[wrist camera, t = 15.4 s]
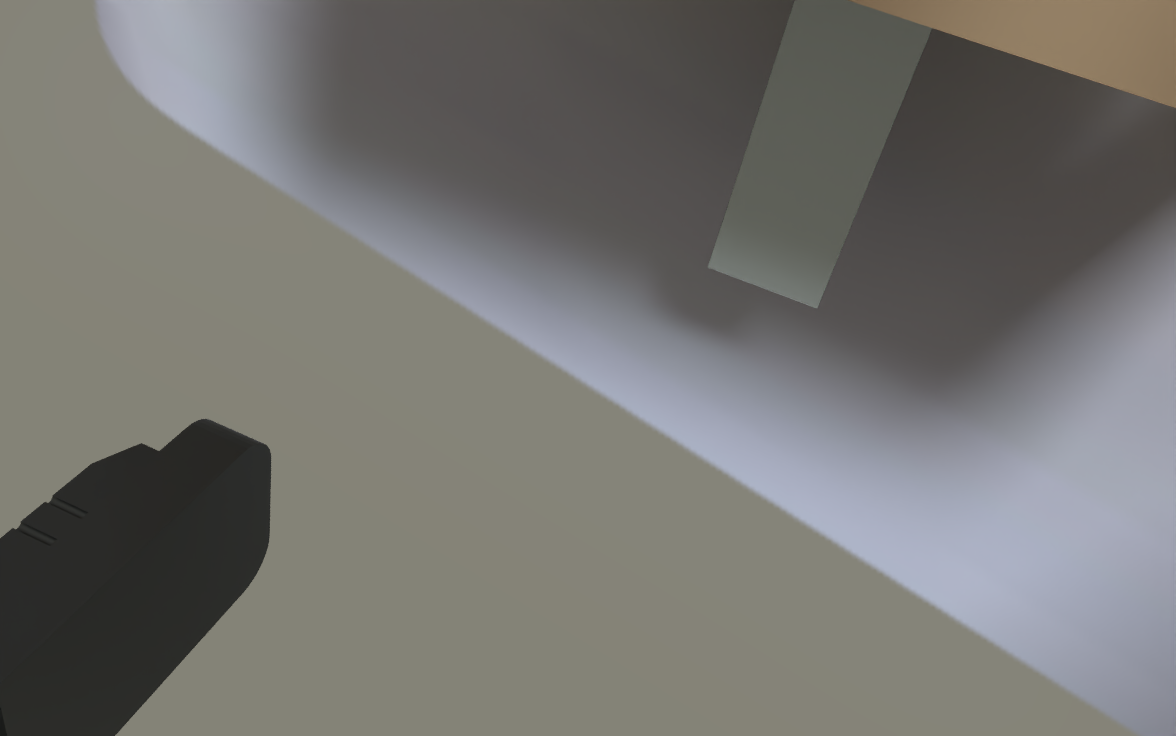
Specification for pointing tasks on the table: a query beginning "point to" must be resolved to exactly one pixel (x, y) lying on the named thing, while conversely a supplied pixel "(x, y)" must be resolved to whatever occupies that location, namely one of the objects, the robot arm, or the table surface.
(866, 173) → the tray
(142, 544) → the robot arm
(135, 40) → the table surface
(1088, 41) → the slatted wooden stool
